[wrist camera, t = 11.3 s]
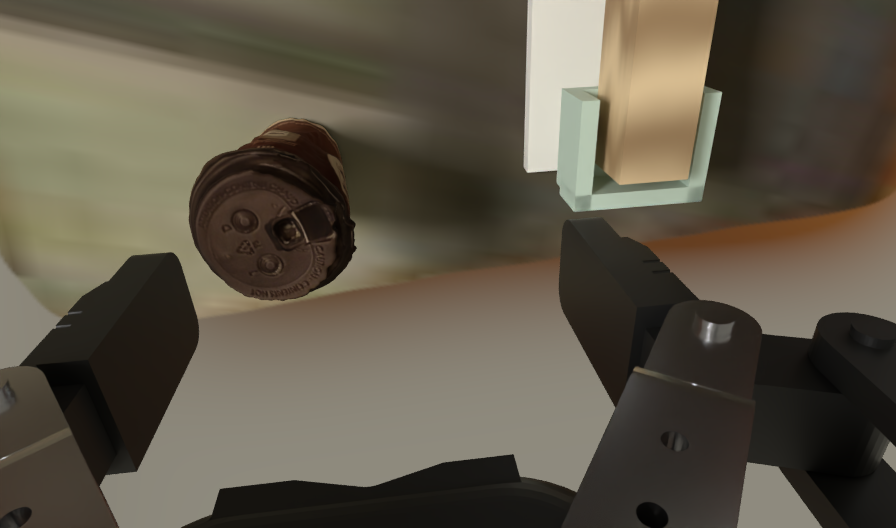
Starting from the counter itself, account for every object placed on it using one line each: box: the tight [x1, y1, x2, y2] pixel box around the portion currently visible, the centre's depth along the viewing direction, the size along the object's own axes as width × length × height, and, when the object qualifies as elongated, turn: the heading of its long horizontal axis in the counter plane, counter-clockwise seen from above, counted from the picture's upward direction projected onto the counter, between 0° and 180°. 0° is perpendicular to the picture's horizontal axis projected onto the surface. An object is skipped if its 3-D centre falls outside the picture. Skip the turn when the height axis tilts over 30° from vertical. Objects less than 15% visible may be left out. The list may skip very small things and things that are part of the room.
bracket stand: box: [524, 0, 722, 212], centre depth 32 cm, size 21×10×9 cm, turn 2°
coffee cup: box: [189, 118, 357, 301], centre depth 33 cm, size 9×8×13 cm
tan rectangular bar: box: [595, 0, 719, 185], centre depth 29 cm, size 17×4×4 cm, turn 3°
